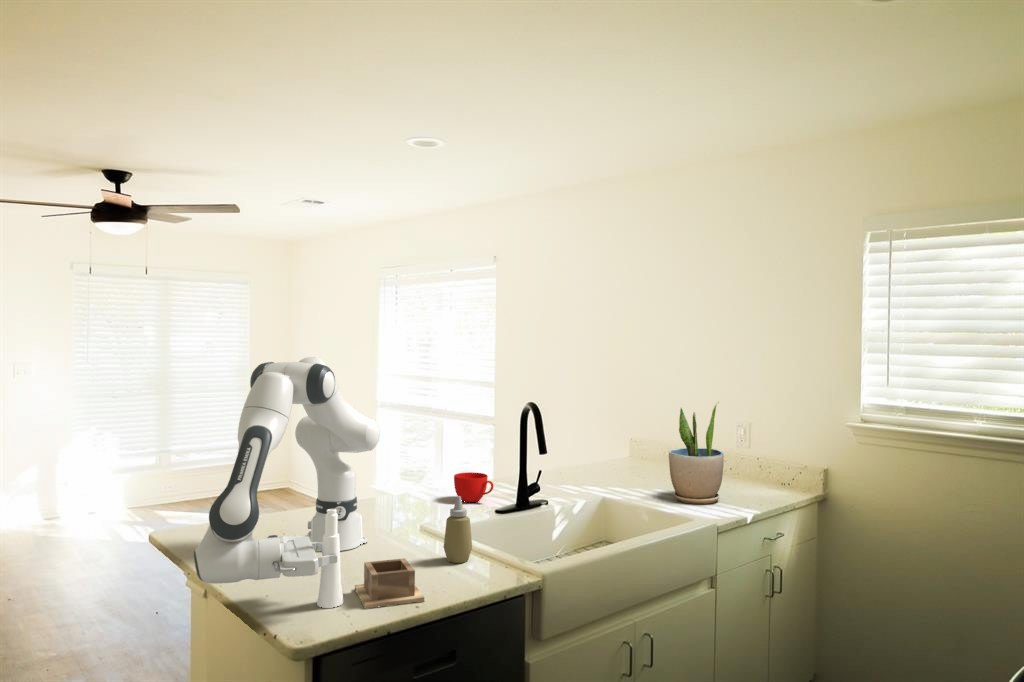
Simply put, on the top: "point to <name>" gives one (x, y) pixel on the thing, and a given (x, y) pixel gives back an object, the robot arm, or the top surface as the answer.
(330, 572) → the cosmetic bottle
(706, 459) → the potted plant
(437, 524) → the top surface
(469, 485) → the ceramic cup
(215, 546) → the robot arm
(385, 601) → the holder
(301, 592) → the top surface
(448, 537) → the squeeze bottle
